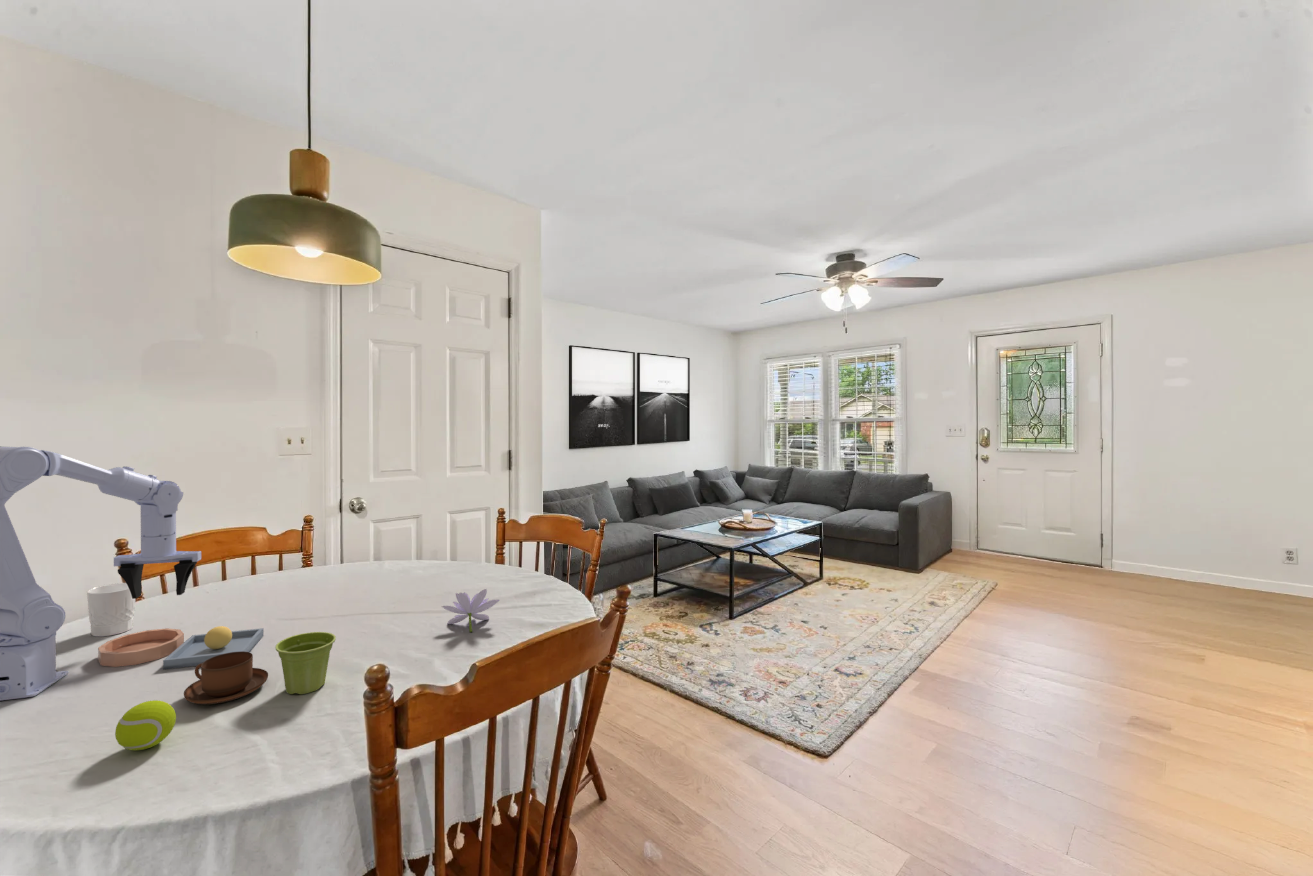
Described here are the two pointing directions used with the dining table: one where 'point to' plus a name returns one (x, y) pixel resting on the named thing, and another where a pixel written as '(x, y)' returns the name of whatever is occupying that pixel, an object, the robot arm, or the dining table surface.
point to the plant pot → (305, 660)
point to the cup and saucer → (225, 679)
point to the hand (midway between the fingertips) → (159, 595)
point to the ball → (218, 637)
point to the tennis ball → (145, 725)
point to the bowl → (140, 647)
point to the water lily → (470, 607)
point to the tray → (198, 652)
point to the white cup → (110, 609)
